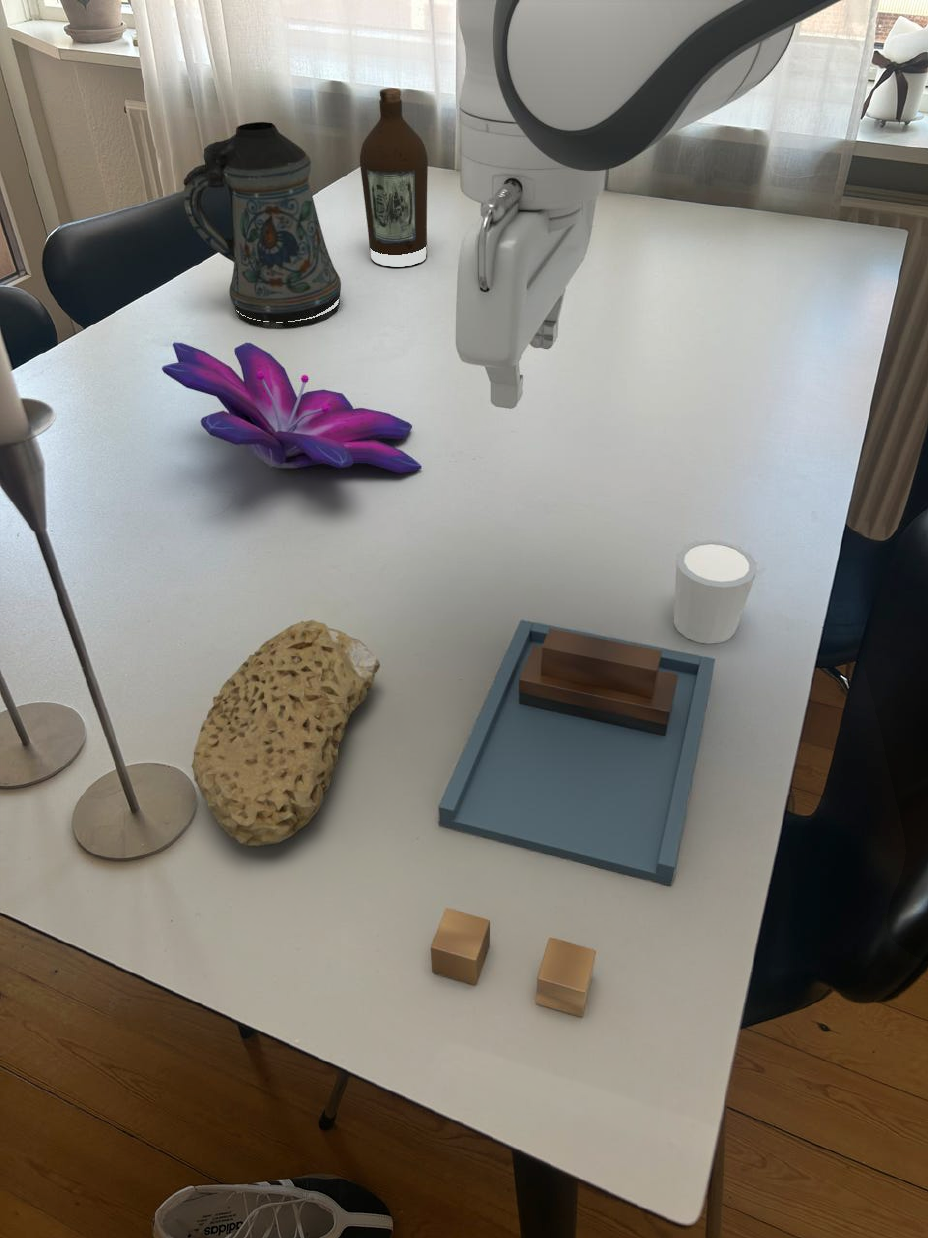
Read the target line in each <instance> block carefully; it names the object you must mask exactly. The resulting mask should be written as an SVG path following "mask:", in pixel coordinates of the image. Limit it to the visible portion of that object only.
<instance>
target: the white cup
mask: <svg viewBox="0 0 928 1238" xmlns="http://www.w3.org/2000/svg"><path fill="white" fill-rule="evenodd" d="M757 566H758V565H757V562H756V561H755V559H754V557H753V556H752V554H750V553H749V552H747V551H746V550H745V549H743V548H742V547H741V546H739V545H735V544H732V543H730V542H727V541H720V540H713V539H707V540H698V541H697V540H696V541H694V542H692V543H691V542H690V543H689V544H687V545H684V546H683V547H682V548H681V550H679V551H678V553H677V556H676V566H675V567H676V568H675V584H674V585H675V587H674V605H673V607H674V608H673V625H674V627H675V629H676V631H677V632H678V633H680V634H681V635H682V636H683V637H684V638H685V639H688V640H691V641H693V642H695V643H700V644H706V645H712V644H713V645H714V644H721V643H723V642H725V641H729V639H731V638H732V637H733V636H734V634H735V633H736V632H737V628H738V626H739V624H740V620H741V617H742V615H743V612H744V609H745V607H746V603H747V601H748V598H749V595H750V592H751V589H752V586H753V583H754V581H755V578H756V575H757Z"/></svg>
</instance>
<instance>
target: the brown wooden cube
mask: <svg viewBox="0 0 928 1238" xmlns="http://www.w3.org/2000/svg"><path fill="white" fill-rule="evenodd" d="M444 909H445V910H444V911H443V914H442V917H441V918H440V922H439V925H438V926H437V927H438V928H437V929H436V932H435V934H434V937H433V939H432V942H431V944H430V955H431V956H430V958H431V959H430V960H431V961H430V962H431V972H432V973H433V974H436V975H440V976H443V977H447V978H449V979H452V980H456V981H458V982H459V981H460V982H463V983H466V984H469V985H473V986H477V984H478V982H479V979H480V976H481V973H482V971H483V968H484V964H485V961H486V958H487V955H488V953H489V949H490V947H491V920H490V919H487V918H484V917H480V916H476V915H473V914H470V913H466V912H463V911H459V910H456V909H453V908H449V907H446V908H444Z"/></svg>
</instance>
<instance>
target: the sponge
mask: <svg viewBox="0 0 928 1238" xmlns="http://www.w3.org/2000/svg"><path fill="white" fill-rule="evenodd" d="M380 667H381V663H380V661H379V659H378V657H376V656H375V655H374V653H373V652H372V651H371V650H370V649H369V648H368V646H367V645H366V644H365V643H364V642H363V641H361V640H360V639H357V638H354V637H351V636H349V635H348V634H347V633H345V632H343V631H341V630H339V629H334V628H331V627H328V626H327V624H326V623H324V622H319V621H316V620H314V619H311V620H306V621H304V620H302V621H299V622H297V623H294V624H291V625H290V626H288V627H287V628H286V629H284V630H282V631H281V632H279V633H278V634H275V636H273V637H271V638H270V639H268V640H266V641H264V642H263V643H262V645H261V646H260V647H259V649H258V650H256V651H254V654H250V655H249V656H248V657H247V659H246V660H245V661H244V662H243V663H242V664H240V666H239V668H238V669H237V670H236V671H235V672H234V673H233V674H232V675H231V676H230V677H229V678H228V679H227V680H226V682H224V684H222V686H221V688H220V690H219V693H218V694H217V696H213V697H212V700H213V702H212V703H213V706H211V708H210V709H209V710H208V711H207V715H206V719H204V720H203V723H202V725H201V728H200V730H199V731H200V733H199V734H198V737H197V741H196V744H195V746H194V747H195V748H194V750H193V760H192V763H191V768H192V770H193V776H194V777H193V779H194V781H195V783H196V785H197V787H198V789H199V791H200V793H201V796H202V799H204V801H205V803H206V804H207V806H208V807H209V809H210V811H211V813H212V814H213V815H214V816H215V818H216V821H217V823H218V824H219V825H220V827H221V828H222V829H223V830H224V831H225V832H226V833H227V834H228V835H229V836H230V837H231V838H233V839H235V840H236V841H238V843H239V845H245V846H265V845H272V844H273V845H275V844H278V843H280V842H282V841H284V840H286V839H288V838H290V837H291V836H293V835H294V834H296V832H297V831H299V830H300V829H302V828H304V827H305V826H306V825H307V824H308V823H309V822H310V821H311V820H312V818H313V817H314V816H315V814H316V813H317V812H318V811H319V809H320V808H321V807H322V803H323V801H324V792H325V791H326V790H327V789H329V786H330V781H331V778H332V775H333V773H334V769H335V768H334V767H335V766H336V764H337V762H338V759H339V748H340V747H339V746H340V743H341V742H340V741H341V740H342V739H343V737H344V735H345V731H346V727H347V724H348V723H349V722H348V720H349V719H350V716H351V714H352V713H353V711H354V710H356V709H357V707H358V706H359V705H360V704H361V703H363V701H365V700H366V698H367V695H368V694H367V691H371V690H372V687H373V684H374V681H375V674H377V673H378V671H379V669H380Z"/></svg>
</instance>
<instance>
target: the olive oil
mask: <svg viewBox="0 0 928 1238" xmlns="http://www.w3.org/2000/svg"><path fill="white" fill-rule="evenodd" d="M379 97H380V100H379V114H380V117H379V119H378V122H376V124H375V125H374V126H373V128H372V129H371V130H370V132H369V133H368V135H367V136H366V137H365V139H364V140H363V142H362V144H361V147H360V148H361V150H360V152H359V153H360V154H359V167H360V168H359V169H360V176H361V183H362V184H361V185H362V191H363V192H362V193H363V199H364V200H363V201H364V207H365V217H366V225H367V234H368V244H369V249H370V248H371V249H372V250H373V251H375V252H378V253H380V254H381V253H382V254H388V255H402V254H408V253H413V252H416V251H419V250H421V249H423V248H424V247H426V245H427V246H428V177H429V176H428V171H429V169H428V168H429V160H428V153H427V149H426V146H425V143H424V141H423V139H422V138H421V136H419V134H418V133H417V132H416V131H415V130H414V129H413V128H412V127H411V126H410V124H408V123H407V121H406V120H405V118H404V117H403V100H402V99H401V97H402V93H401V89H399V88H392V87H390V88H382V89H381V90H379Z"/></svg>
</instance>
